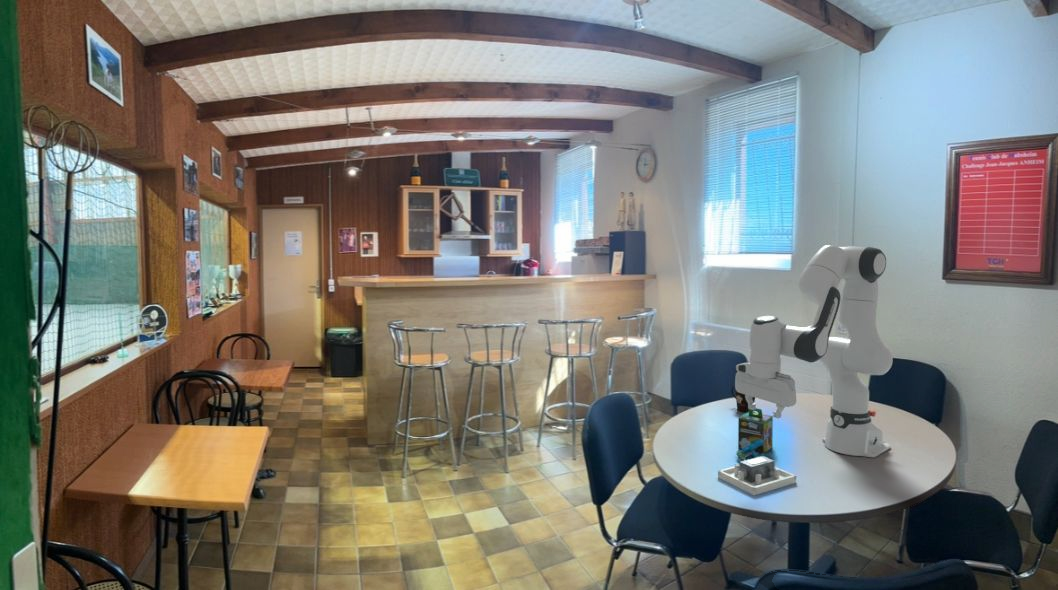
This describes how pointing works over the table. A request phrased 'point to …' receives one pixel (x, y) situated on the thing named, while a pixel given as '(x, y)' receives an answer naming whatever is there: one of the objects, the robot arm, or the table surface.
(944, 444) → the table surface
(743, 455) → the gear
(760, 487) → the holder tray
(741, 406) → the coffee mug
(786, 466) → the table surface
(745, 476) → the block
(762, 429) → the chalk box
